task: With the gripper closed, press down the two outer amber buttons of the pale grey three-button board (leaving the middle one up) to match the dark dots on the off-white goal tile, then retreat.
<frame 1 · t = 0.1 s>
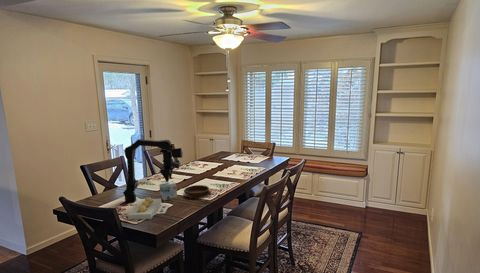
hand: (169, 180, 206), 15 cm above the table, fingers open, 9 cm apart
board: (145, 210, 191), on the table
button c: (148, 201, 198), point 4 cm above the table, slide at 0.0 cm
dish: (197, 195, 217), on the table
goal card: (162, 209, 192), on the table
button a: (142, 209, 184), point 4 cm above the table, slide at 0.0 cm
light bulb box: (168, 197, 214), on the table
button b: (145, 205, 191), point 4 cm above the table, slide at 0.0 cm
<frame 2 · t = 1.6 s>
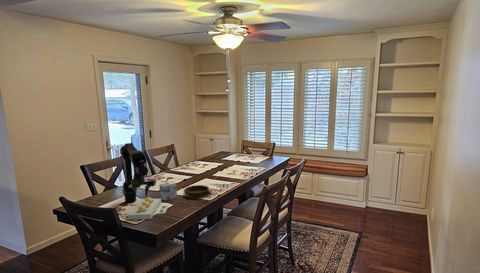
hand: (141, 196, 183), 12 cm above the table, fingers open, 6 cm apart
nothing on the table moved.
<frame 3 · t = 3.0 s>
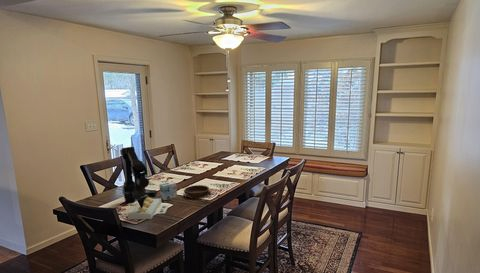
hand: (141, 207, 184), 5 cm above the table, fingers closed, pressing on button a
button a: (142, 210, 184), point 3 cm above the table, slide at 0.7 cm, touching gripper
everything else where it was.
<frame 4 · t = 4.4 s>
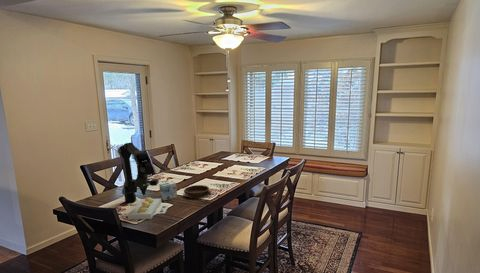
hand: (144, 195, 190), 10 cm above the table, fingers closed
button a: (142, 211, 184), point 2 cm above the table, slide at 1.4 cm
everything else where it was.
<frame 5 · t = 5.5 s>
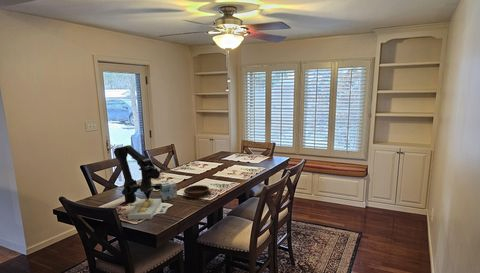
hand: (148, 199, 198), 5 cm above the table, fingers closed, pressing on button c
button c: (148, 202, 198), point 3 cm above the table, slide at 0.7 cm, touching gripper
everything else where it was.
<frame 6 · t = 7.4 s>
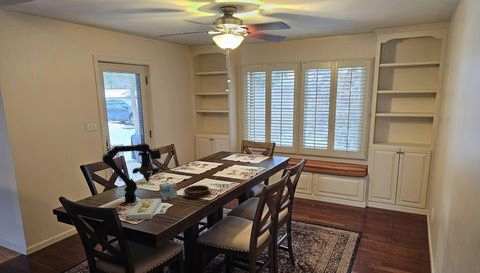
hand: (147, 181, 213), 12 cm above the table, fingers closed
button c: (148, 203, 198), point 2 cm above the table, slide at 1.4 cm
everything else where it was.
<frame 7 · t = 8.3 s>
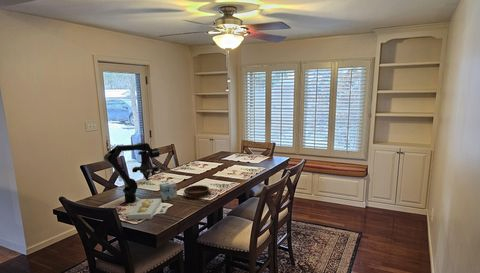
hand: (147, 180, 217), 12 cm above the table, fingers closed
nothing on the table moved.
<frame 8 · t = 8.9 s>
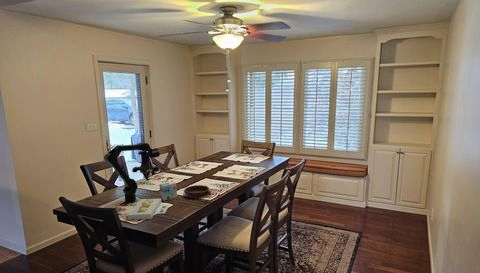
hand: (147, 180, 217), 12 cm above the table, fingers closed
nothing on the table moved.
at the end: button a slide at 1.4 cm; button c slide at 1.4 cm; button b slide at 0.0 cm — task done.
